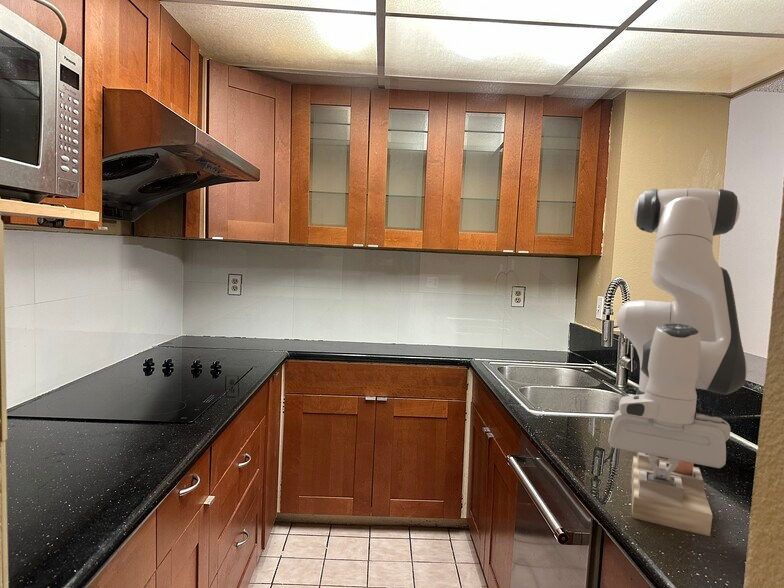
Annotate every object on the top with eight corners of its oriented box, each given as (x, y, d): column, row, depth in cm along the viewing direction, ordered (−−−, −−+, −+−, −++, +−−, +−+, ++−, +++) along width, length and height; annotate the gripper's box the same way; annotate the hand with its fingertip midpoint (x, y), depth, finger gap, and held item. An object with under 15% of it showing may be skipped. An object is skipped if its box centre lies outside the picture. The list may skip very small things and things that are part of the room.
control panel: (631, 472, 126) (634, 443, 125) (694, 485, 121) (698, 455, 120) (631, 517, 103) (635, 482, 102) (709, 536, 98) (714, 499, 97)
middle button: (667, 464, 113) (669, 450, 113) (691, 469, 111) (693, 455, 111) (669, 471, 109) (670, 457, 109) (693, 477, 107) (695, 462, 107)
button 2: (646, 486, 108) (648, 471, 108) (671, 491, 106) (672, 477, 106) (647, 494, 104) (648, 479, 103) (672, 500, 102) (674, 485, 102)
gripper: (728, 414, 102) (720, 485, 103) (613, 396, 110) (606, 461, 111) (734, 423, 96) (725, 498, 98) (612, 403, 105) (604, 472, 106)
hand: (660, 478), depth 105 cm, fingers closed, pressing on button 2
